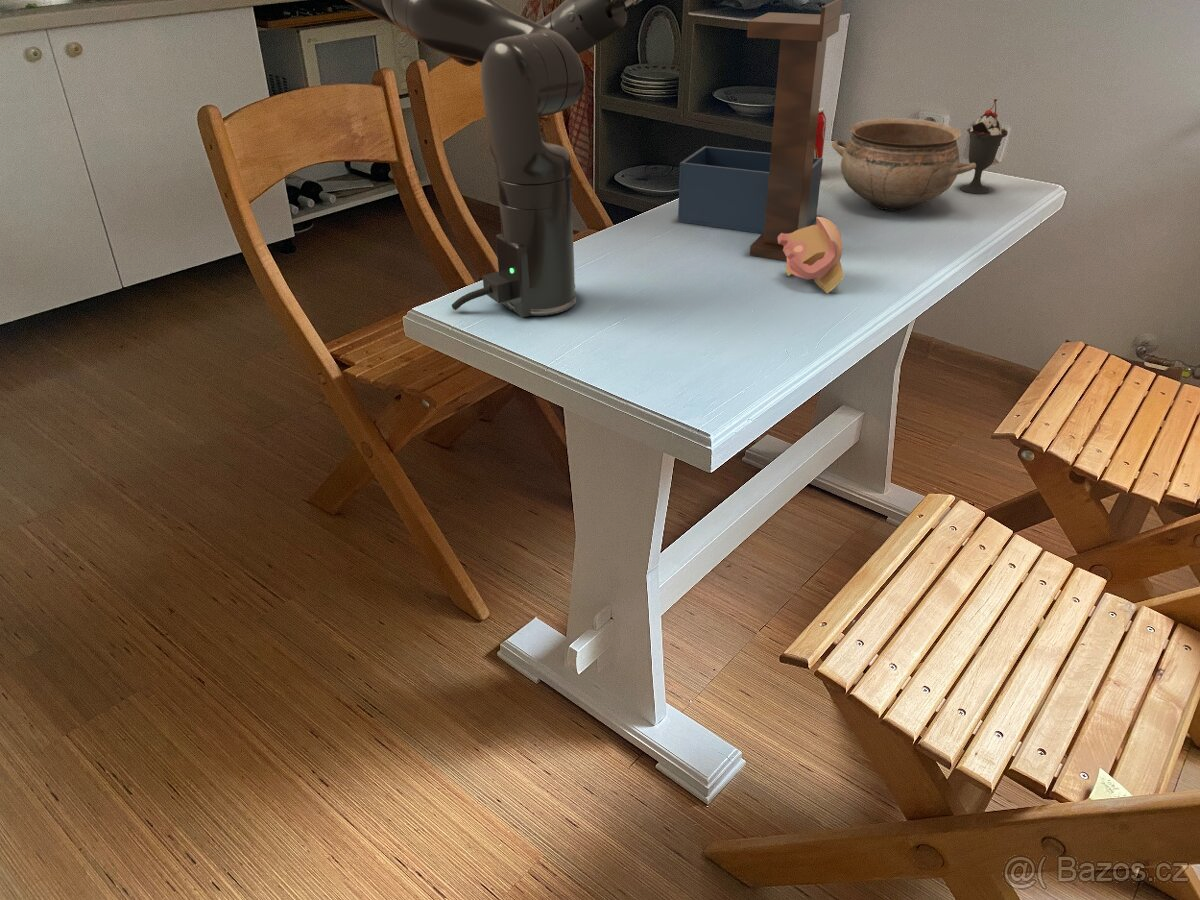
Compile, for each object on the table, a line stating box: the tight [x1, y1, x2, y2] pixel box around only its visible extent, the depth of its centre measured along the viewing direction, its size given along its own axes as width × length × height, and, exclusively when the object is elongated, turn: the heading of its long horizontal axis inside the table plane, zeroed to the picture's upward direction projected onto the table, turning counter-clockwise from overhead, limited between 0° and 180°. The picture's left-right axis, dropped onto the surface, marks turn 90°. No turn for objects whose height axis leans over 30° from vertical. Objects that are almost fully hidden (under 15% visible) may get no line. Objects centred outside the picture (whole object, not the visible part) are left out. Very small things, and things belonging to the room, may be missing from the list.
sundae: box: [959, 98, 1009, 195], centre depth 155 cm, size 7×7×15 cm
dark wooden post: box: [746, 0, 843, 262], centre depth 127 cm, size 10×9×34 cm
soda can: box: [814, 105, 827, 158], centre depth 165 cm, size 7×7×12 cm
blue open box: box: [677, 145, 824, 235], centre depth 145 cm, size 20×11×10 cm, turn 64°
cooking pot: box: [831, 117, 976, 212], centre depth 150 cm, size 25×19×12 cm
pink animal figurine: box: [778, 216, 845, 294], centre depth 123 cm, size 9×10×10 cm
